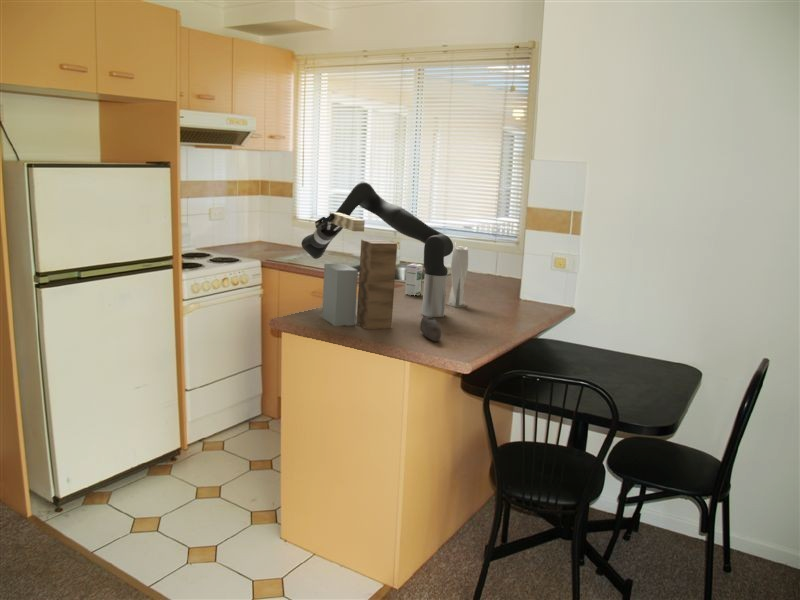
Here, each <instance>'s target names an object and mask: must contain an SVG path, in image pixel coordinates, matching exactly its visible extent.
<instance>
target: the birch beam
mask: <svg viewBox="0 0 800 600" xmlns="http://www.w3.org/2000/svg"><path fill="white" fill-rule="evenodd" d="M332 213H334V216H335V218H334V220H333V221H332V222H331V223H332V224H335V225H338V226H340V227H343V229H345V228H346V229H345V230H349V231H352V232H363V233H364V232H365V222H366V221H365V219H364V220H363V219H362V218H358V217H354V216H351V215H350V216H349V215H345V214H342V213H336V211H335V212H334V211H333V212H332V211H331V212H329V215H330V214H332Z"/></svg>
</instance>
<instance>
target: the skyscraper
mask: <svg viewBox="0 0 800 600" xmlns="http://www.w3.org/2000/svg"><path fill="white" fill-rule="evenodd" d="M450 263H451V264H450V277H451V287H450V290H449V291H450V292H449V295H448V301H447V303H445V306H447V307H448V306H449V307H454V308H457V309H459V308H463V307H468V304H465V292H464V290H465V289H464V288H465V287H464V283H465V281H466V277H467V276H468V275H467V274H468V269H469V248H468V247H467V246H461V245H459V246H458V245H457V242H456V241H455V242H454V243H453V251H452V256H451V262H450Z"/></svg>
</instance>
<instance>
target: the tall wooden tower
mask: <svg viewBox="0 0 800 600" xmlns="http://www.w3.org/2000/svg"><path fill="white" fill-rule="evenodd" d="M397 249H398V243H396V242H394V241H390V240H387V239H361V241H360V254H359V255H360V256H359V271H358V273H359V274H358V288H357V289H358V290H357V306H356V311H357V312H356V324H358V325H359V324H360V325H359V326H361V327H362V326H363V327H362V328H364V327H365V328H364V329H366V330H379V328H384V329H391V328H392V324H393V323H392V322H393V309H394V296H395V294H394V293H395V280H396V279H395V278H396V266H397Z"/></svg>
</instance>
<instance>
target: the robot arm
mask: <svg viewBox="0 0 800 600" xmlns="http://www.w3.org/2000/svg"><path fill="white" fill-rule="evenodd" d="M358 207H361V208H362V209H363V210H366V211H368V212H370V213H372V214H374V215H375V216H377V217H378V218H380V219H381V220H382V221H383V222H384V223H386V224H387V225H388V226H390V227H391V228H392V229H394V230H395V231H396V232H398V233H399V234H402V235H403V236H406V237H409V238H411V239H413V240H414V239H415V240H417V241H419V242H421V243H423V244H424V247H423V268H424V281H423V291H422V292H423V293H422V303H421V304H422V308H421V315H422V316H430V317H432V318H444V316H445V309H446V307H445V306H446V305H445V304H446V296H447V294H446V292H447V282H448V280H447V279H448V268H447V266H446V265H445V261H444V259H445V257H448V256H449V255H451V254H453V251H454V243H453V241H452V239H451V238H450V237H449V236H447V235H446V234H444V233H442V232H441V231H439V230H436V229H434V228H432V227H431V226H429V225H428V224H427V223H425V222H423V221H422V220H421V219H420V218H419V217H416V216H415V215H413V214H412V213H410V212H409V211H407V209H405V208H403V207H401V206H398V205H396V204H393V203H389V202H388V201H386V200H385V199H384V198H383V197H381V196H380V195H379V194H378V193H377V192H376V191H375V189H374V188H373V186H372V185H371V184H370V182H369V183H368V182H366V181H361V182H359V183H357V184H356V185H355V186H354V187H353V188H352V189H351V191H350V192H349V193H348V195H347V197H346V198H345V199H344V201H343V202H342V204H341V205H340V206H339V207H338V208H337V210H336V211H335V212H336V213H342V214H345V215H349V216H351V215H352V213H353V212H354V210H355V209H356V208H358ZM334 218H335V216H334V213H332V214H330V213H329V215H328V216H321V218H319V219H318V220H316V221H314V225H315V231H314V232H313V233H311V234H308V235H307V236H304V238H303V239H302V241H301V248H302V249H303V250H304V251H305V252H307V254H309V256H310V257H311V258H312V259H316V260H317V259H320V258H321V257H322V256H323V255H324V253H325V252H326V249H327V248H328V246H329V245H330V243H331V242H332V241H333V240H334V238H336V236H337V235H338V234H340V232H341V231H342V230H343V229H345V230H347V229H346V228H343V227H340V226H338V225H335V224H332V223H331V222H332V221H333V220H334Z"/></svg>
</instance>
